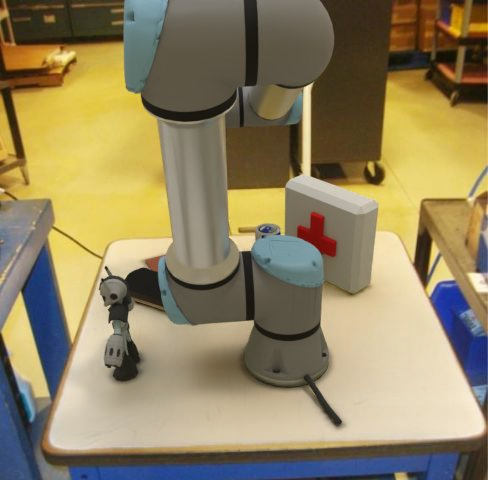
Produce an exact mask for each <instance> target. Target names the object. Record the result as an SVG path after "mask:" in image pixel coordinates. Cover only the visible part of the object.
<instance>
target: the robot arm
mask: <svg viewBox="0 0 488 480" xmlns="http://www.w3.org/2000/svg"><path fill="white" fill-rule="evenodd" d="M334 46H335V32H334V26H333V22H332V20H331V17H330V15H329V12H328V10H327V9H326V7H325V6H324V4H323V2H322V1H321V0H124V3H123V72H124V84H125V89H126V90H127V91H128V92H130V93H133V94H134V95H137V94H138V95H139V94H140V100H141V104H142V106H143V109H144V111H146V113H148V114H149V115H150V116H152V117H153V118H155V119H156V125H157V132H158V139H159V147H160V155H161V162H162V170H163V178H164V184H165V192H166V200H167V207H168V208H167V209H168V216H169V223H170V231H171V238H172V242H171V243H170V244H169V246H167V247H168V248H167V249H166V252H165V255H166V256H163V257H161V258H160V259H159V262H158V280H159V287H160V291H161V298H162V302H163V306H164V309H165V311H164V312H165V315H166V316H167V318H168V319H169V321H170V322H171V323H172V324H174V325H179V326H182V325H184V326H193V327H194V326H198V325H199V326H200V325H210V324H225V323H237V322H238V323H239V322H251V321H252V322H253V326H252V328H251V331H250V334H249V337H248V340H247V342H246V345H245V347H244V364H245V367H246V369H247V371H248V372H249V374H251V376H253V377H254V378H256V379H257V380H259V381H260V382H262V383H265V384H267V385H271V386H276V387H284V388H288V387H289V388H291V387H300V386H304V385H308V386H309V387H310V389H311V391H312V392H313V394H314V395H315V397H316V399H317V400H318V402H319V403H320V405H321V406H322V407H323V409H324V411H326V413H327V414H328V415H329V417H330V418H331V419H332V420H333V422H334V423H335V424H336V425H338V426H340V425H342V423H343V420H342V418H340V416H339V415H338V414H337V412H336V411H335V410H334V409H333V408H332V406H331V405H330V404H329V402H328V401H327V400H326V398H325V397H324V395H323V394H322V392H321V391H320V389H319V387H318V386H317V384H316V383H315V381H316V380H318V379H319V378H320V377H322V376H323V375H324V374H325V373H326V371H327V369H328V367H329V362H330V352H329V346H328V344H327V340H326V337H325V335H324V334H325V333H324V331H323V328H322V325H321V322H322V308H323V307H322V306H323V289H324V288H323V287H324V282H325V280H324V271H323V258H322V255H321V253H320V252H319V250H318V249H317V248H316V247H315V246H313V245H312V244H310V243H308V242H306V241H304V240H302V239H300V238H296V237H292V236H287V235H285V234H281V235H269V236H265V237H264V238H260V239H258V240H257V241H255V240H254V242H253V244H252V246H251V248H250V250H239V248H238V245H237V243H235V241H234V240H233V239H231V238H230V222H229V194H228V165H227V162H228V161H227V135H226V129H236V128H237V129H239V128H248V127H250V128H251V127H272V126H275V127H276V126H277V127H284V126H289V125H296V124H298V123H299V122H300V121H301V119H302V115H303V108H304V107H303V104H304V103H303V102H304V101H303V99H304V98H303V89H304V88H306V87H308V86H311V84H313V83H315V82H316V81H317V80H318V79H319V78H320V77H321V76H322V74H323V73H324V71H325V70H326V69H327V67H328V65H329V63H330V61H331V58H332V56H333V51H334V48H335V47H334Z"/></svg>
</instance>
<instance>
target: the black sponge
mask: <svg viewBox="0 0 488 480" xmlns="http://www.w3.org/2000/svg"><path fill="white" fill-rule="evenodd" d="M124 280H125V281H126V282H127V284H128V286H129V294H130V296H131V298H133V301H134V302H138V303H140V304H144V305H146V306H149V307H153V308H156V309H160V310H161V311H164V312H165V309H164V306H163V302H162V298H161V291H160V287H159V280H158V272H156V271H153V270H151V269H150V268H148V267H143V266H142V267H139V268H136V269H134V270H132V271H130V272H128V273H127V275H126V277H125V278H124Z"/></svg>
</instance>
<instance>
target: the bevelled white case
mask: <svg viewBox="0 0 488 480" xmlns="http://www.w3.org/2000/svg"><path fill="white" fill-rule="evenodd" d="M378 215H379V202H378V201H376V199H374V198H371V197H369V196H366V195H363V194H360V193H358V192H354V191H352V190H349V189H346V188H343V187H341V186H338V185H335V184H332V183H329V182H327V181H324V180H321V179H318V178H317V177H316V178H315V177H314V176H310V175H308V174H305V173H303V174H300V175H298V176H295V177H292V178H290V179H289V180H288V181H287V182H286V184H285V186H284V235H287V236H292V237H296V238H300V239H302V240H304V241H306V242H308V243H310V244H312V245H313V246H315V247H316V248H317V249H318V250H319V252H320V253H321V255H322V258H323V271H324V282H327V283H329V284H332V285H333V286H335V287H337V288H339V289H341V290H343V291H345V292H348V293H350V294H352V295H355V294H356V293H358V292H359V291H361V290H363V289H365V288H367V287H368V286H370V285H371V281H372V272H373V271H372V270H373V260H374V253H375V252H374V251H375V244H376V233H377V224H378Z"/></svg>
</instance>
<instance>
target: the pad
mask: <svg viewBox="0 0 488 480" xmlns="http://www.w3.org/2000/svg"><path fill="white" fill-rule="evenodd" d="M163 256H166V254H162V255H158V256H154V257H150V258H147V259H144V262H145V263H146V265H147V266H148V267H149V269H150V270H153V271H156V272H158V262H159V259H160V258H161V257H163Z"/></svg>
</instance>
